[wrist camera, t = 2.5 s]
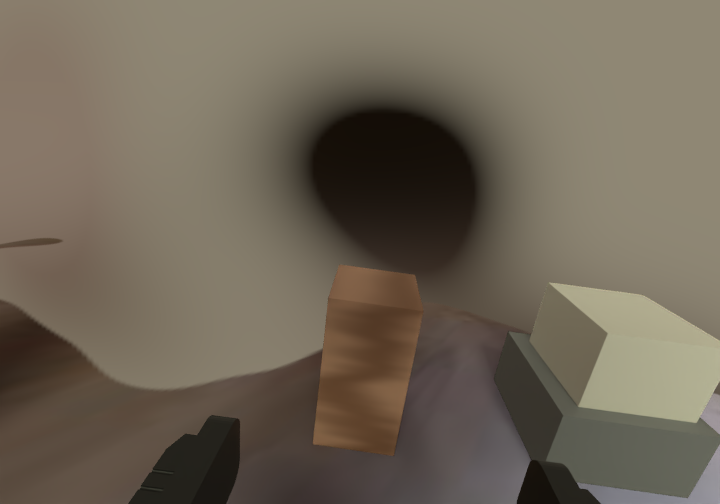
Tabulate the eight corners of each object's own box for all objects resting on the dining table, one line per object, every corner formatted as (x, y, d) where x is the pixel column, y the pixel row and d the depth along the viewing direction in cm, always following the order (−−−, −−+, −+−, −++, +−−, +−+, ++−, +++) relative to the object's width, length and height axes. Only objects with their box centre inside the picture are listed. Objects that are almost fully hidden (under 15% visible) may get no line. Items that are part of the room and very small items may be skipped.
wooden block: (312, 444, 21) (328, 297, 18) (325, 388, 26) (339, 264, 23) (393, 456, 21) (423, 311, 18) (391, 398, 26) (414, 274, 23)
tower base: (538, 480, 21) (563, 415, 20) (493, 382, 30) (508, 331, 28) (685, 501, 21) (723, 437, 20) (598, 396, 30) (619, 346, 28)
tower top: (578, 406, 21) (607, 333, 19) (529, 340, 27) (548, 282, 26) (696, 423, 21) (736, 350, 19) (618, 352, 27) (642, 295, 26)
